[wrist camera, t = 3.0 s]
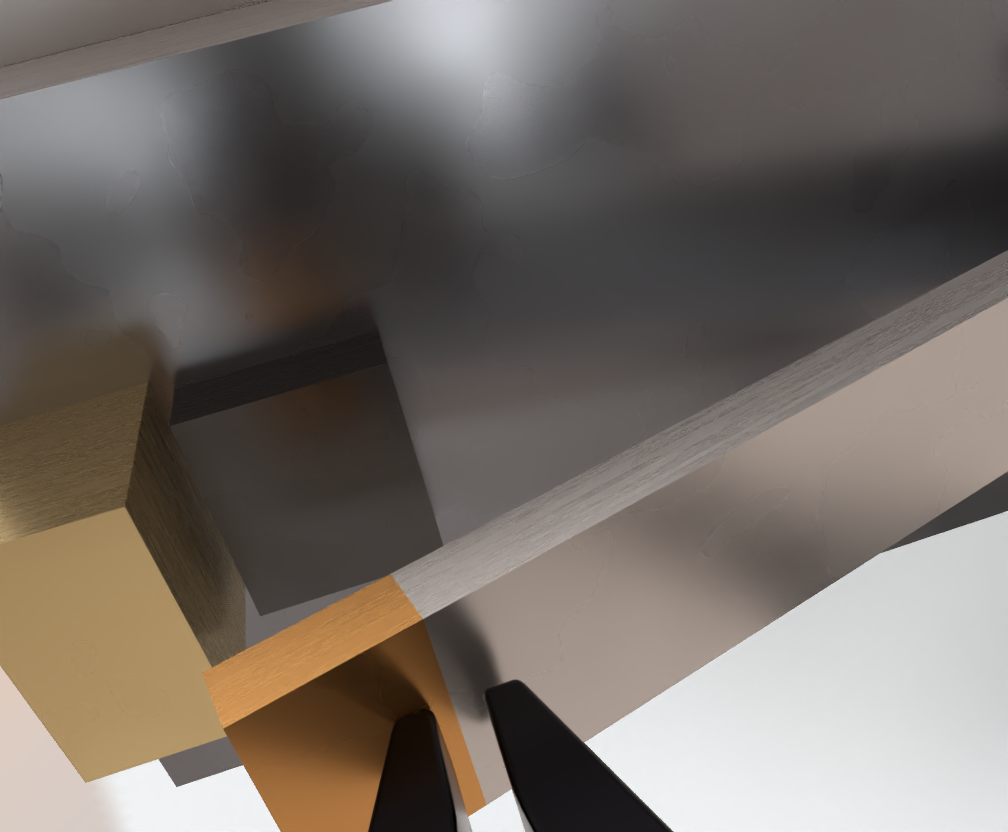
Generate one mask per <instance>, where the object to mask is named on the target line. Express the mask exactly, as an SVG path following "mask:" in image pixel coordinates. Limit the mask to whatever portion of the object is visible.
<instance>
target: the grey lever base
mask: <svg viewBox="0 0 1008 832" xmlns="http://www.w3.org/2000/svg"><path fill="white" fill-rule="evenodd" d="M1007 250H1008V0H270V1H266V2H262V3H258V4H254V5H250V6H246V7H242V8H238V9H234V10H230V11H226V12H222V13H218V14H214V15H210V16H206V17H201V18H197V19H193V20H189V21H185V22H181V23H177V24H173V25H169V26H165V27H161V28H157V29H153V30H149V31H145V32H141V33H137V34H133V35H129V36H125V37H121V38H117V39H113V40H109V41H105V42H101V43H97V44H93V45H89V46H85V47H80V48H76V49H72V50H68V51H64V52H60V53H56V54H52V55H48V56H44V57H40V58H36V59H32V60H28V61H24V62H20V63H16V64H12V65H8V66H4V67H0V666H1V667H2V668H3V670H4V671H5V673H6V674H7V675H8V677H9V678H10V679H11V681H12V682H13V684H14V685H15V686H16V688H17V689H18V690H19V692H20V693H21V695H22V696H23V697H24V699H25V700H26V701H27V703H28V704H29V706H30V707H31V708H32V710H33V711H34V712H35V714H36V715H37V717H38V718H39V719H40V721H41V722H42V723H43V725H44V726H45V728H46V729H47V730H48V732H49V733H50V734H51V736H52V737H53V739H54V740H55V741H56V743H57V744H58V745H59V747H60V748H61V749H62V751H63V752H64V753H65V755H66V756H67V758H68V759H69V761H70V762H71V763H72V765H73V766H74V767H75V769H76V770H77V772H78V773H79V774H80V776H81V777H82V778H83V780H84V781H85V783H86V782H89V781H93V780H96V779H99V778H102V777H105V776H108V775H111V774H114V773H117V772H120V771H123V770H126V769H129V768H132V767H135V766H138V765H141V764H144V763H147V762H150V761H153V760H156V759H159V760H160V762H161V763H162V765H163V767H164V768H165V770H166V771H167V773H168V774H169V776H170V778H171V779H172V781H173V782H174V784H175V785H176V787H178V786H181V785H184V784H187V783H190V782H193V781H196V780H199V779H202V778H205V777H208V776H211V775H214V774H217V773H220V772H223V771H226V770H229V769H232V768H235V767H238V766H241V765H243V763H242V762H241V760H240V758H239V756H238V755H237V753H236V751H235V749H234V747H233V746H232V744H231V742H230V740H229V739H228V737H227V735H226V733H225V731H224V730H223V727H222V725H221V722H220V719H219V717H218V714H217V711H216V709H215V706H214V704H213V701H212V698H211V696H210V693H209V690H208V688H207V685H206V682H205V680H204V677H203V674H202V672H204V671H206V670H208V669H210V668H212V667H214V666H216V665H218V664H219V663H221V662H223V661H225V660H227V659H229V658H231V657H233V656H235V655H237V654H239V653H240V652H242V651H244V650H246V649H248V648H250V647H252V646H254V645H256V644H258V643H260V642H261V641H263V640H265V639H267V638H269V637H271V636H273V635H275V634H277V633H279V632H281V631H282V630H284V629H286V628H288V627H290V626H292V625H294V624H296V623H298V622H300V621H301V620H303V619H305V618H307V617H309V616H311V615H313V614H315V613H317V612H319V611H321V610H322V609H324V608H326V607H328V606H330V605H332V604H334V603H336V602H338V601H340V600H342V599H343V598H345V597H347V596H349V595H351V594H353V593H355V592H357V591H359V590H361V589H363V588H364V587H366V586H368V585H370V584H372V583H374V582H376V581H378V580H380V579H382V578H384V577H385V576H387V575H389V574H391V573H393V572H395V571H397V570H399V569H401V568H403V567H404V566H406V565H408V564H410V563H412V562H414V561H416V560H418V559H420V558H422V557H424V556H425V555H427V554H429V553H431V552H433V551H435V550H437V549H439V548H441V547H443V546H445V545H446V544H448V543H450V542H452V541H454V540H456V539H458V538H460V537H462V536H464V535H466V534H467V533H469V532H471V531H473V530H475V529H477V528H479V527H481V526H483V525H485V524H486V523H488V522H490V521H492V520H494V519H496V518H498V517H500V516H502V515H504V514H506V513H507V512H509V511H511V510H513V509H515V508H517V507H519V506H521V505H523V504H525V503H527V502H528V501H530V500H532V499H534V498H536V497H538V496H540V495H542V494H544V493H546V492H548V491H549V490H551V489H553V488H555V487H557V486H559V485H561V484H563V483H565V482H567V481H569V480H570V479H572V478H574V477H576V476H578V475H580V474H582V473H584V472H586V471H588V470H589V469H591V468H593V467H595V466H597V465H599V464H601V463H603V462H605V461H607V460H609V459H610V458H612V457H614V456H616V455H618V454H620V453H622V452H624V451H626V450H628V449H630V448H631V447H633V446H635V445H637V444H639V443H641V442H643V441H645V440H647V439H649V438H651V437H652V436H654V435H656V434H658V433H660V432H662V431H664V430H666V429H668V428H670V427H672V426H673V425H675V424H677V423H679V422H681V421H683V420H685V419H687V418H689V417H691V416H692V415H694V414H696V413H698V412H700V411H702V410H704V409H706V408H708V407H710V406H712V405H713V404H715V403H717V402H719V401H721V400H723V399H725V398H727V397H729V396H731V395H733V394H734V393H736V392H738V391H740V390H742V389H744V388H746V387H748V386H750V385H752V384H754V383H755V382H757V381H759V380H761V379H763V378H765V377H767V376H769V375H771V374H773V373H774V372H776V371H778V370H780V369H782V368H784V367H786V366H788V365H790V364H792V363H794V362H795V361H797V360H799V359H801V358H803V357H805V356H807V355H809V354H811V353H813V352H815V351H816V350H818V349H820V348H822V347H824V346H826V345H828V344H830V343H832V342H834V341H836V340H837V339H839V338H841V337H843V336H845V335H847V334H849V333H851V332H853V331H855V330H857V329H858V328H860V327H862V326H864V325H866V324H868V323H870V322H872V321H874V320H876V319H877V318H879V317H881V316H883V315H885V314H887V313H889V312H891V311H893V310H895V309H897V308H898V307H900V306H902V305H904V304H906V303H908V302H910V301H912V300H914V299H916V298H918V297H919V296H921V295H923V294H925V293H927V292H929V291H931V290H933V289H935V288H937V287H939V286H940V285H942V284H944V283H946V282H948V281H950V280H952V279H954V278H956V277H958V276H959V275H961V274H963V273H965V272H967V271H969V270H971V269H973V268H975V267H977V266H979V265H980V264H982V263H984V262H986V261H988V260H990V259H992V258H994V257H996V256H998V255H1000V254H1001V253H1003V252H1005V251H1007ZM1005 511H1008V471H1007V472H1006V473H1004V474H1003V475H1001V476H1000V477H998V478H996V479H995V480H993V481H992V482H990V483H989V484H987V485H986V486H984V487H982V488H981V489H979V490H978V491H976V492H975V493H973V494H971V495H970V496H968V497H967V498H965V499H964V500H962V501H961V502H959V503H957V504H956V505H954V506H953V507H951V508H950V509H948V510H946V511H945V512H943V513H942V514H940V515H939V516H937V517H936V518H934V519H932V520H931V521H929V522H928V523H926V524H925V525H923V526H921V527H920V528H918V529H917V530H915V531H914V532H912V533H911V534H909V535H907V536H906V537H904V538H903V539H901V540H900V541H898V542H896V543H895V544H893V545H892V546H890V547H889V548H887V549H886V550H884V551H882V552H885V551H888V550H891V549H894V548H897V547H900V546H903V545H906V544H909V543H912V542H915V541H918V540H921V539H924V538H927V537H930V536H933V535H936V534H939V533H942V532H945V531H948V530H951V529H954V528H957V527H960V526H963V525H966V524H969V523H972V522H975V521H978V520H981V519H984V518H987V517H990V516H993V515H996V514H999V513H1002V512H1005ZM882 552H881V553H882Z"/></svg>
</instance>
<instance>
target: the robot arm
mask: <svg viewBox="0 0 1008 832" xmlns="http://www.w3.org/2000/svg"><path fill="white" fill-rule="evenodd" d="M483 698H484V701H485V704H486V708H487V711H488V714H489V717H490V720H491V724H492V727H493V730H494V733H495V736H496V740H497V743H498V746H499V749H500V752H501V756H502V759H503V762H504V765H505V768H506V771H507V775H508V778H509V781H510V784H511V787H512V791H513V794H514V797H515V800H516V803H517V806H518V810H519V813H520V816H521V819H522V822H523V826H524V829H525V832H673V831H672V830H671V829H670V828H669V827H668V826H667V825H666V824H665V823H664V822H663V821H662V820H661V819H660V818H659V817H658V816H657V815H656V814H655V813H654V812H653V811H652V810H651V809H650V808H649V807H648V806H647V805H646V804H645V803H644V802H643V801H642V800H641V799H640V798H639V797H638V796H637V795H636V794H635V793H634V792H633V791H632V790H631V789H630V788H629V787H628V786H627V785H626V784H625V783H624V782H623V781H622V780H621V779H620V778H619V777H618V776H617V775H616V774H615V773H614V772H613V771H612V770H611V769H610V768H609V767H608V766H607V765H606V764H605V763H604V762H603V761H602V760H601V759H600V758H599V757H598V756H597V755H596V754H595V753H594V752H593V751H592V750H591V749H590V748H589V747H588V746H587V745H586V744H585V743H584V742H583V741H582V740H581V739H580V738H579V737H578V736H577V735H576V734H575V733H574V732H573V731H572V730H571V729H570V728H569V727H568V726H567V725H566V724H565V723H564V722H563V721H562V720H561V719H560V718H559V717H558V716H557V715H556V714H555V713H554V712H553V711H552V710H551V709H550V708H549V707H548V706H547V705H546V704H545V703H544V702H543V701H542V700H541V699H540V698H539V697H538V696H537V695H536V694H535V693H534V692H533V691H532V690H531V689H530V688H529V687H528V686H527V685H526V684H525V683H523V682H522V681H520V680H517V679H514V680H511V681H508V682H505V683H502V684H499V685H496V686H493V687H490V688H488V689H486V691H485V692H484V694H483ZM368 832H472V829H471V826H470V822H469V819H468V815H467V812H466V808H465V804H464V801H463V797H462V794H461V790H460V787H459V783H458V779H457V776H456V772H455V769H454V766H453V763H452V760H451V757H450V754H449V751H448V749H447V746H446V743H445V740H444V738H443V735H442V732H441V729H440V727H439V724H438V721H437V719H436V716H435V714H434V713H433V712H432V711H430V710H424V711H422V712H419V713H416V714H413V715H410V716H407V717H404V718H402V719H399V720H398V721H396V723H395V724H394V726H393V728H392V732H391V736H390V740H389V744H388V748H387V753H386V757H385V761H384V765H383V770H382V774H381V778H380V782H379V786H378V791H377V795H376V799H375V803H374V808H373V812H372V816H371V820H370V825H369V829H368Z"/></svg>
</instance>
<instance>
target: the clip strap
mask: <svg viewBox="0 0 1008 832" xmlns="http://www.w3.org/2000/svg"><path fill="white" fill-rule="evenodd" d="M1007 471H1008V250H1007V251H1005V252H1003V253H1001V254H1000V255H998V256H996V257H994V258H992V259H990V260H988V261H986V262H984V263H982V264H980V265H979V266H977V267H975V268H973V269H971V270H969V271H967V272H965V273H963V274H961V275H959V276H958V277H956V278H954V279H952V280H950V281H948V282H946V283H944V284H942V285H940V286H939V287H937V288H935V289H933V290H931V291H929V292H927V293H925V294H923V295H921V296H919V297H918V298H916V299H914V300H912V301H910V302H908V303H906V304H904V305H902V306H900V307H898V308H897V309H895V310H893V311H891V312H889V313H887V314H885V315H883V316H881V317H879V318H877V319H876V320H874V321H872V322H870V323H868V324H866V325H864V326H862V327H860V328H858V329H857V330H855V331H853V332H851V333H849V334H847V335H845V336H843V337H841V338H839V339H837V340H836V341H834V342H832V343H830V344H828V345H826V346H824V347H822V348H820V349H818V350H816V351H815V352H813V353H811V354H809V355H807V356H805V357H803V358H801V359H799V360H797V361H795V362H794V363H792V364H790V365H788V366H786V367H784V368H782V369H780V370H778V371H776V372H774V373H773V374H771V375H769V376H767V377H765V378H763V379H761V380H759V381H757V382H755V383H754V384H752V385H750V386H748V387H746V388H744V389H742V390H740V391H738V392H736V393H734V394H733V395H731V396H729V397H727V398H725V399H723V400H721V401H719V402H717V403H715V404H713V405H712V406H710V407H708V408H706V409H704V410H702V411H700V412H698V413H696V414H694V415H692V416H691V417H689V418H687V419H685V420H683V421H681V422H679V423H677V424H675V425H673V426H672V427H670V428H668V429H666V430H664V431H662V432H660V433H658V434H656V435H654V436H652V437H651V438H649V439H647V440H645V441H643V442H641V443H639V444H637V445H635V446H633V447H631V448H630V449H628V450H626V451H624V452H622V453H620V454H618V455H616V456H614V457H612V458H610V459H609V460H607V461H605V462H603V463H601V464H599V465H597V466H595V467H593V468H591V469H589V470H588V471H586V472H584V473H582V474H580V475H578V476H576V477H574V478H572V479H570V480H569V481H567V482H565V483H563V484H561V485H559V486H557V487H555V488H553V489H551V490H549V491H548V492H546V493H544V494H542V495H540V496H538V497H536V498H534V499H532V500H530V501H528V502H527V503H525V504H523V505H521V506H519V507H517V508H515V509H513V510H511V511H509V512H507V513H506V514H504V515H502V516H500V517H498V518H496V519H494V520H492V521H490V522H488V523H486V524H485V525H483V526H481V527H479V528H477V529H475V530H473V531H471V532H469V533H467V534H466V535H464V536H462V537H460V538H458V539H456V540H454V541H452V542H450V543H448V544H446V545H445V546H443V547H441V548H439V549H437V550H435V551H433V552H431V553H429V554H427V555H425V556H424V557H422V558H420V559H418V560H416V561H414V562H412V563H410V564H408V565H406V566H404V567H403V568H401V569H399V570H397V571H395V572H393V573H391V574H389V575H387V576H385V577H384V578H382V579H380V580H378V581H376V582H374V583H372V584H370V585H368V586H366V587H364V588H363V589H361V590H359V591H357V592H355V593H353V594H351V595H349V596H347V597H345V598H343V599H342V600H340V601H338V602H336V603H334V604H332V605H330V606H328V607H326V608H324V609H322V610H321V611H319V612H317V613H315V614H313V615H311V616H309V617H307V618H305V619H303V620H301V621H300V622H298V623H296V624H294V625H292V626H290V627H288V628H286V629H284V630H282V631H281V632H279V633H277V634H275V635H273V636H271V637H269V638H267V639H265V640H263V641H261V642H260V643H258V644H256V645H254V646H252V647H250V648H248V649H246V650H244V651H242V652H240V653H239V654H237V655H235V656H233V657H231V658H229V659H227V660H225V661H223V662H221V663H219V664H218V665H216V666H214V667H212V668H210V669H208V670H206V671H204V672H202V674H203V677H204V680H205V682H206V685H207V688H208V690H209V693H210V696H211V698H212V701H213V704H214V706H215V709H216V711H217V714H218V717H219V719H220V722H221V725H222V727H223V730H224V731H225V733H226V735H227V737H228V739H229V740H230V742H231V744H232V746H233V747H234V749H235V751H236V753H237V755H238V756H239V758H240V760H241V762H242V763H243V765H244V767H245V769H246V771H247V772H248V774H249V776H250V778H251V779H252V781H253V783H254V785H255V787H256V788H257V790H258V792H259V794H260V795H261V797H262V799H263V801H264V803H265V804H266V806H267V808H268V810H269V811H270V813H271V815H272V817H273V819H274V820H275V822H276V824H277V826H278V827H279V829H280V831H281V832H368V829H369V825H370V820H371V816H372V812H373V808H374V803H375V799H376V795H377V791H378V786H379V782H380V778H381V774H382V770H383V765H384V761H385V757H386V753H387V748H388V744H389V740H390V736H391V732H392V728H393V726H394V724H395V723H396V721H398V720H399V719H402V718H404V717H407V716H410V715H413V714H416V713H419V712H422V711H424V710H430V711H432V712H433V713H434V714H435V716H436V719H437V721H438V724H439V727H440V729H441V732H442V735H443V738H444V740H445V743H446V746H447V749H448V751H449V754H450V757H451V760H452V763H453V766H454V769H455V772H456V776H457V779H458V783H459V787H460V790H461V794H462V797H463V801H464V804H465V808H466V812H467V815H468V816H470V815H471V814H473V813H475V812H476V811H478V810H479V809H481V808H482V807H484V806H486V805H487V804H489V803H490V802H492V801H493V800H495V799H496V798H498V797H500V796H501V795H503V794H504V793H506V792H507V791H509V790H511V789H512V787H511V784H510V781H509V778H508V775H507V771H506V768H505V765H504V762H503V759H502V756H501V752H500V749H499V746H498V743H497V740H496V736H495V733H494V730H493V727H492V724H491V720H490V717H489V714H488V711H487V708H486V704H485V701H484V698H483V694H484V692H485V691H486V689H488V688H490V687H493V686H496V685H499V684H502V683H505V682H508V681H511V680H514V679H517V680H520V681H522V682H523V683H525V684H526V685H527V686H528V687H529V688H530V689H531V690H532V691H533V692H534V693H535V694H536V695H537V696H538V697H539V698H540V699H541V700H542V701H543V702H544V703H545V704H546V705H547V706H548V707H549V708H550V709H551V710H552V711H553V712H554V713H555V714H556V715H557V716H558V717H559V718H560V719H561V720H562V721H563V722H564V723H565V724H566V725H567V726H568V727H569V728H570V729H571V730H572V731H573V732H574V733H575V734H576V735H577V736H578V737H579V738H580V739H581V740H582V741H583V742H586V741H587V740H589V739H590V738H592V737H593V736H595V735H596V734H598V733H600V732H601V731H603V730H604V729H606V728H607V727H609V726H611V725H612V724H614V723H615V722H617V721H618V720H620V719H621V718H623V717H625V716H626V715H628V714H629V713H631V712H632V711H634V710H636V709H637V708H639V707H640V706H642V705H643V704H645V703H646V702H648V701H650V700H651V699H653V698H654V697H656V696H657V695H659V694H661V693H662V692H664V691H665V690H667V689H668V688H670V687H671V686H673V685H675V684H676V683H678V682H679V681H681V680H682V679H684V678H686V677H687V676H689V675H690V674H692V673H693V672H695V671H696V670H698V669H700V668H701V667H703V666H704V665H706V664H707V663H709V662H711V661H712V660H714V659H715V658H717V657H718V656H720V655H721V654H723V653H725V652H726V651H728V650H729V649H731V648H732V647H734V646H736V645H737V644H739V643H740V642H742V641H743V640H745V639H746V638H748V637H750V636H751V635H753V634H754V633H756V632H757V631H759V630H761V629H762V628H764V627H765V626H767V625H768V624H770V623H771V622H773V621H775V620H776V619H778V618H779V617H781V616H782V615H784V614H786V613H787V612H789V611H790V610H792V609H793V608H795V607H796V606H798V605H800V604H801V603H803V602H804V601H806V600H807V599H809V598H811V597H812V596H814V595H815V594H817V593H818V592H820V591H821V590H823V589H825V588H826V587H828V586H829V585H831V584H832V583H834V582H836V581H837V580H839V579H840V578H842V577H843V576H845V575H846V574H848V573H850V572H851V571H853V570H854V569H856V568H857V567H859V566H861V565H862V564H864V563H865V562H867V561H868V560H870V559H871V558H873V557H875V556H876V555H878V554H879V553H881V552H882V551H884V550H886V549H887V548H889V547H890V546H892V545H893V544H895V543H896V542H898V541H900V540H901V539H903V538H904V537H906V536H907V535H909V534H911V533H912V532H914V531H915V530H917V529H918V528H920V527H921V526H923V525H925V524H926V523H928V522H929V521H931V520H932V519H934V518H936V517H937V516H939V515H940V514H942V513H943V512H945V511H946V510H948V509H950V508H951V507H953V506H954V505H956V504H957V503H959V502H961V501H962V500H964V499H965V498H967V497H968V496H970V495H971V494H973V493H975V492H976V491H978V490H979V489H981V488H982V487H984V486H986V485H987V484H989V483H990V482H992V481H993V480H995V479H996V478H998V477H1000V476H1001V475H1003V474H1004V473H1006V472H1007Z"/></svg>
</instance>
